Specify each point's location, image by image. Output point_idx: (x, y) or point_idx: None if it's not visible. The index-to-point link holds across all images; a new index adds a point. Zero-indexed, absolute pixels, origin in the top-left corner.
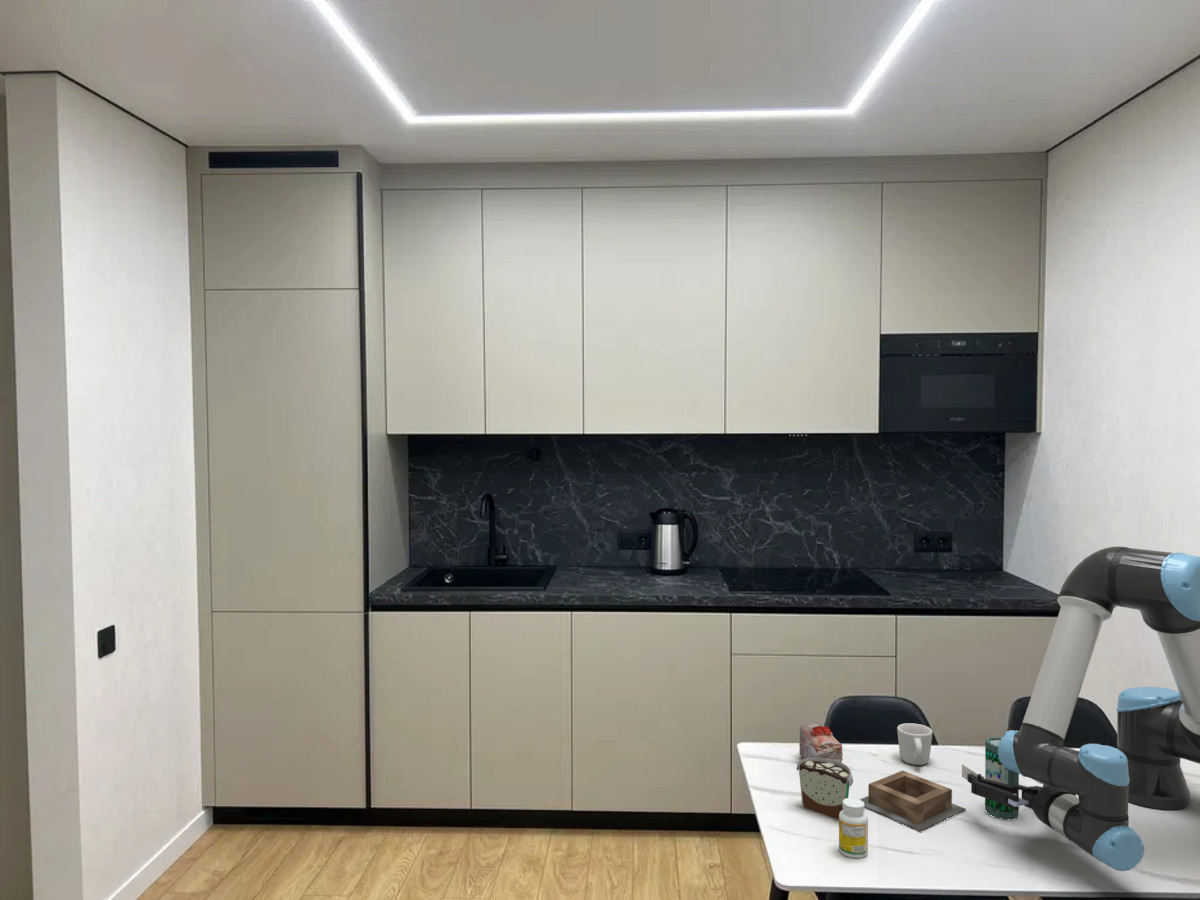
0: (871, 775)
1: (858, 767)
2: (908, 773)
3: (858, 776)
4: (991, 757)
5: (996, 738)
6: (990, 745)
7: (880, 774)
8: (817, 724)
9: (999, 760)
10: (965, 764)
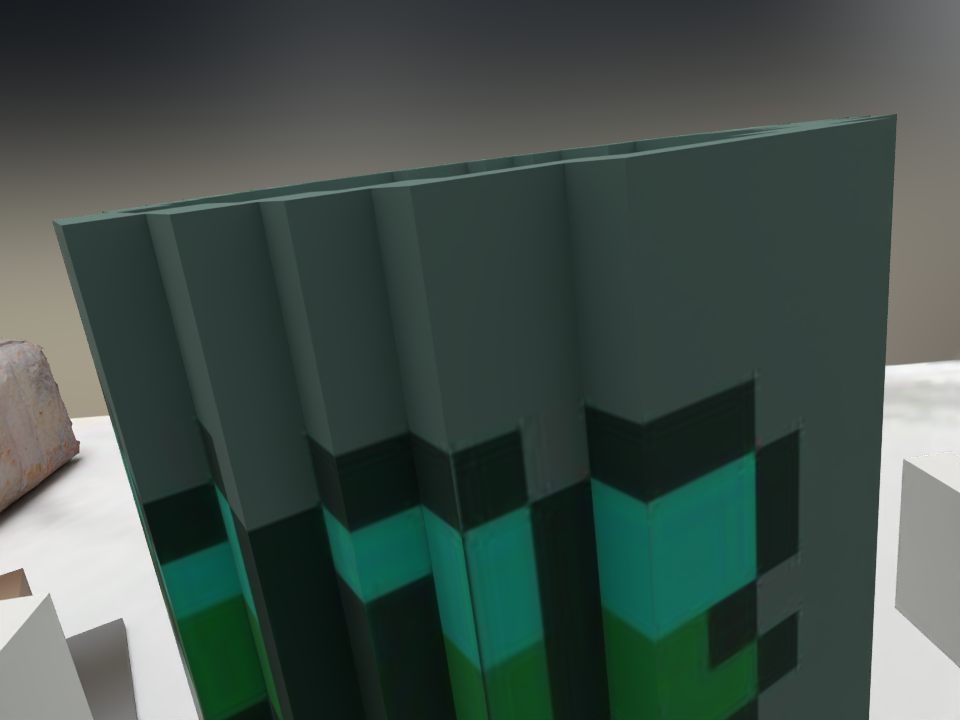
0: (88, 557)
1: (115, 508)
2: (6, 599)
3: (16, 567)
4: (146, 539)
5: (477, 164)
6: (58, 241)
7: (142, 548)
8: (7, 338)
9: (193, 656)
10: (15, 614)
